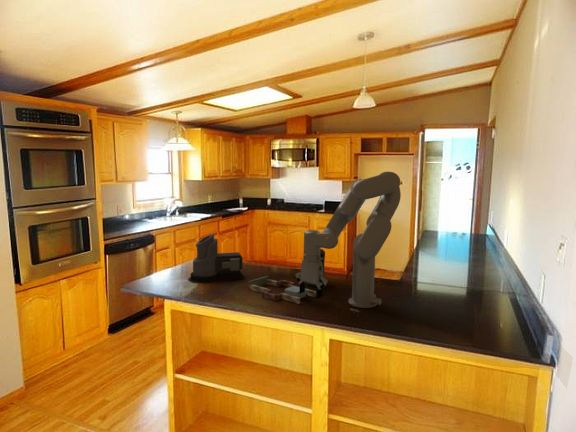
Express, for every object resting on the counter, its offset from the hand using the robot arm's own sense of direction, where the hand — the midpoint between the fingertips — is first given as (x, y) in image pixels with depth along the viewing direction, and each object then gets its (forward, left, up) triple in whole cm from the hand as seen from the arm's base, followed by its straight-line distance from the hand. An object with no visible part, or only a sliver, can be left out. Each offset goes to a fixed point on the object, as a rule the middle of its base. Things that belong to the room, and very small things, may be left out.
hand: (310, 294), depth 174 cm
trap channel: (+17, 0, -3) cm, 17 cm away
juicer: (+61, +4, -3) cm, 61 cm away
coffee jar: (+13, -22, -3) cm, 26 cm away
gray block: (+9, 0, -3) cm, 10 cm away
